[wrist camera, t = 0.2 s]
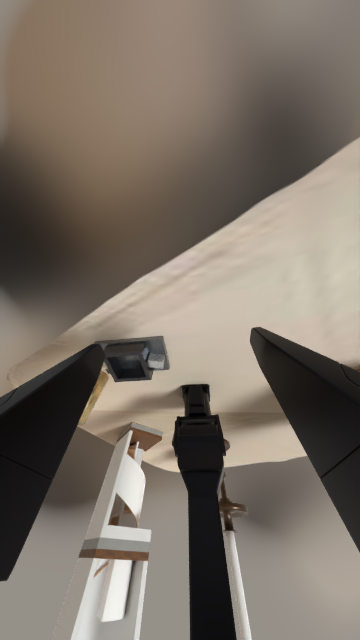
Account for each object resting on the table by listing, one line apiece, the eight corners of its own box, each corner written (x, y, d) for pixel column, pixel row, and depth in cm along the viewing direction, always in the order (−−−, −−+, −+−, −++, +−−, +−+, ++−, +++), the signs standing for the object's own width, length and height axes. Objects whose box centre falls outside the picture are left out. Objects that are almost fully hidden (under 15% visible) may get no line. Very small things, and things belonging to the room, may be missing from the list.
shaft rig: (169, 365, 30) (168, 379, 27) (110, 369, 31) (102, 383, 28) (163, 335, 26) (160, 348, 23) (95, 341, 28) (84, 354, 24)
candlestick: (231, 449, 51) (301, 756, 21) (202, 450, 52) (227, 742, 22) (231, 436, 46) (325, 820, 16) (198, 437, 47) (225, 797, 17)
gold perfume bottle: (111, 381, 34) (76, 449, 23) (94, 382, 34) (52, 450, 23) (104, 369, 32) (62, 438, 21) (86, 370, 32) (36, 438, 21)
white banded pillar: (146, 443, 51) (90, 750, 20) (118, 435, 48) (5, 775, 18) (162, 432, 46) (119, 813, 15) (132, 422, 43) (7, 860, 13)
